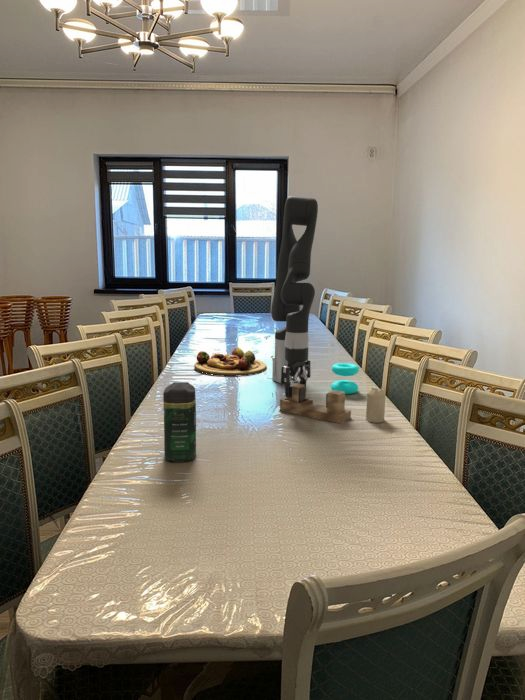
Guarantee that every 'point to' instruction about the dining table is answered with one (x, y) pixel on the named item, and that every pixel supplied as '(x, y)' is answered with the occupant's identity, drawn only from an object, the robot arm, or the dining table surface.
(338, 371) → the donuts
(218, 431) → the dining table surface
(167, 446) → the coffee jar
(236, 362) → the wooden plate with food
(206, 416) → the dining table surface
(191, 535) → the dining table surface
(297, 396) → the brown wooden block
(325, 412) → the rail
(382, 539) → the dining table surface
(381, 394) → the candle
